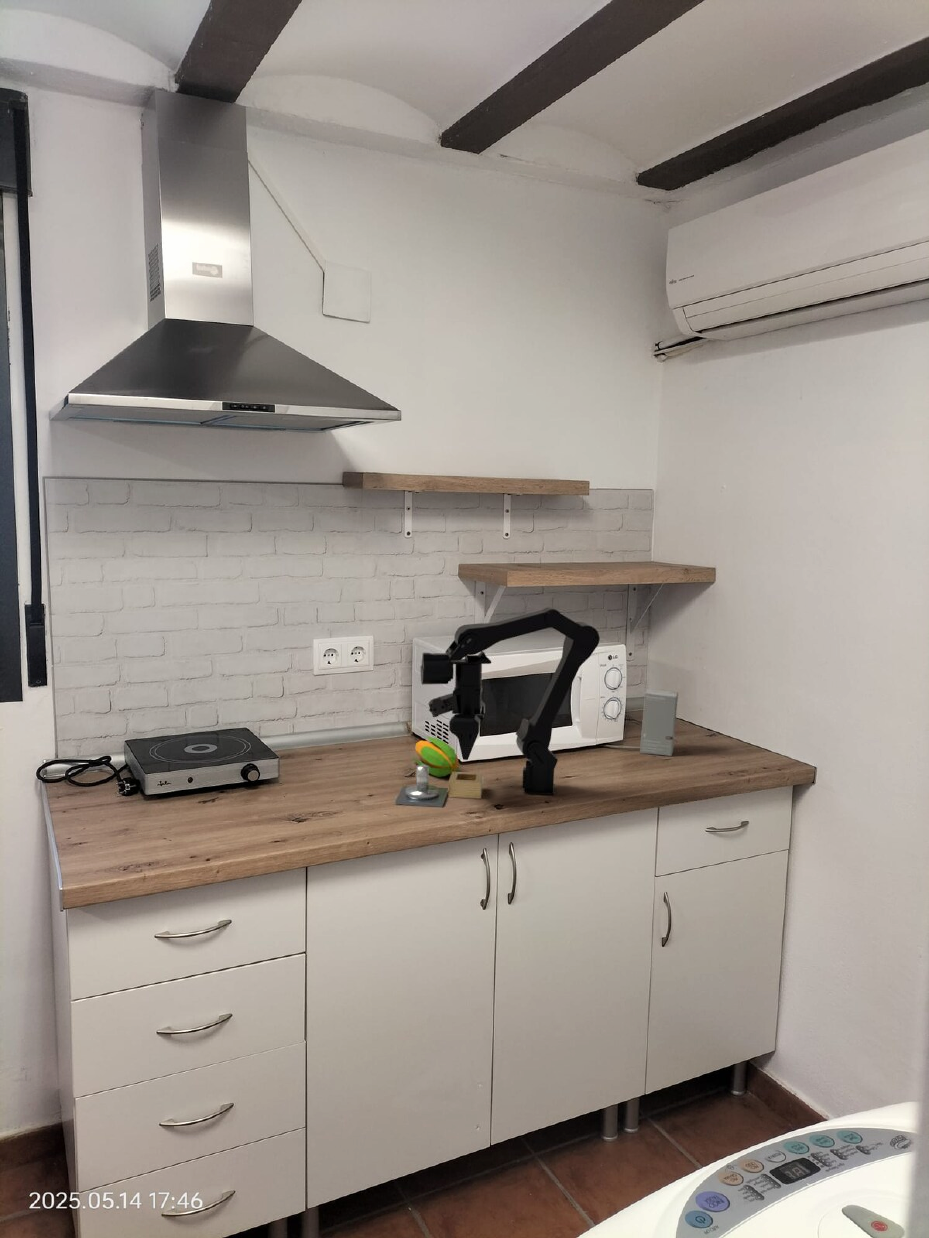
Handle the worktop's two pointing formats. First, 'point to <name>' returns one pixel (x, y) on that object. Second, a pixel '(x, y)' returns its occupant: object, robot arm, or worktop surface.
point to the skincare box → (658, 722)
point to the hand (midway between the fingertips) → (467, 753)
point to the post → (422, 791)
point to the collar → (466, 785)
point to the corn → (437, 757)
